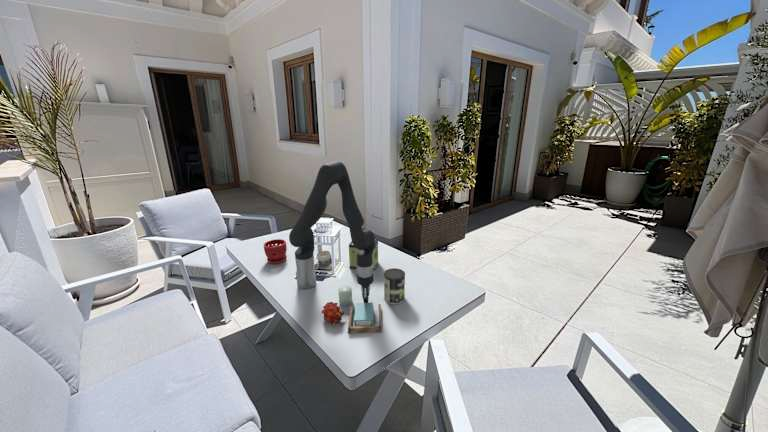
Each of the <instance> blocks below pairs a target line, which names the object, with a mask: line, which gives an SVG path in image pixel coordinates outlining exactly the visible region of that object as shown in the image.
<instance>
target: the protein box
mask: <svg viewBox="0 0 768 432" xmlns="http://www.w3.org/2000/svg"><path fill="white" fill-rule="evenodd" d="M358 252H359V250H358V249H357V248H356V247H355V246H354V245H353V243H352V240H351V242H349V244H348V258H349V269H355V270H357V253H358ZM372 262H373V272H374V271H375V270H376V268H377V266H378V264H379V240H378V239H376V238H375V245H374V250H373V254H372Z"/></svg>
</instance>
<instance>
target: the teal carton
mask: <svg viewBox="0 0 768 432" xmlns="http://www.w3.org/2000/svg"><path fill="white" fill-rule="evenodd" d="M353 319H354V320H353V321H354V322H353V323H354V326H353V327H357V326H374V302H368V303H364V302H356V303H355V310H354V318H353Z"/></svg>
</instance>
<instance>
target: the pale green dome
mask: <svg viewBox="0 0 768 432" xmlns="http://www.w3.org/2000/svg"><path fill="white" fill-rule="evenodd" d="M352 289H353V288H352V287H351V286H349V285H343V286H340V287H338V290H337V292H338V305H341V306H343V307H344V306H345V307H347V306H351V305H352V303H353V290H352Z"/></svg>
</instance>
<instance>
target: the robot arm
mask: <svg viewBox="0 0 768 432" xmlns="http://www.w3.org/2000/svg"><path fill="white" fill-rule="evenodd" d="M336 184H337V185H338V187H339V190H340V192H341V205H342V206H341V207H342V213H343V216H344V218H345V220H346V222H347V225H348V228H349V233H350V239H351V241H352V243H353V245H354V246H355V247H356V248H357V249H358V250H359V252H358V253H357V269H356V281H357V284H358V285H360V289H361V295H362V296H361V297H362V300H363V303H369V300H370V299H369V296H370V290H371V284H373V283H374V271H373V262H372V254H373V250H374V245H375V239H376V236H375V233H374V232H373V231H372V230H370V229H364V230H363V229H362V227H363V226H364V224H365V220H364V217H363V215H362V212H361V210H360V208H359V206H358V203H357V200H356V198H355V195H354V190H353V187H352V183H351V181H350V175H349V172H348V170H347V168H346V165H345V164H344V163H343V162H341V161H339V160H336V161H331V162H327V163H324V164H323V165H321V167H320V168H319V170H318V172H317V176H316V179H315V181H314V185H313V187H312V189H311V192H310V194H309V196H308V198H307V200H306V202H305V204H304V206H303V209H302V210H301V213H300V215H299V217H298V219H297V221H296V223H295V224H294V226H293V227H292V229H291V230H290V233H289V237H288V239H289V243H290V245H291V246H293V247H294V248H295V247H296V248H297V249H296V250H295V251H294V257H295V258H294V259H295V266H296V270H295V277H296V285H297V289H302V290H311V289H312V288H314V287H315V286H316V285H317V276H316V270H315V269H316V267H315V257H314V251H315V236H314V232H313V229H312V228H313V226H315V224H316V223H317V222H319V220H320V219H321V218H322V217H323V215H324V213H325V212H326V209H327V207H328V206H327V205H328V201H327V195H328V193H329V191H330V189H331V188H332V187H333V186H334V185H336Z"/></svg>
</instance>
